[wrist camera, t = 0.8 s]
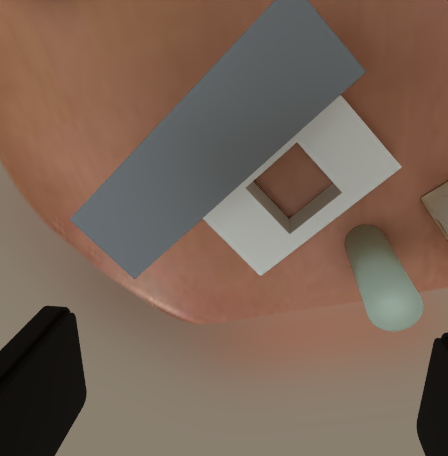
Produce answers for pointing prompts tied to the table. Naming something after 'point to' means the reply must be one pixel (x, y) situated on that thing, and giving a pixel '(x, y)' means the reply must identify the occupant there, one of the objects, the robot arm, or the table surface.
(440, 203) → the coffeecake box
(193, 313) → the table surface
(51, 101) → the table surface
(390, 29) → the table surface
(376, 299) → the peg
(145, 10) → the table surface
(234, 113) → the socket block
